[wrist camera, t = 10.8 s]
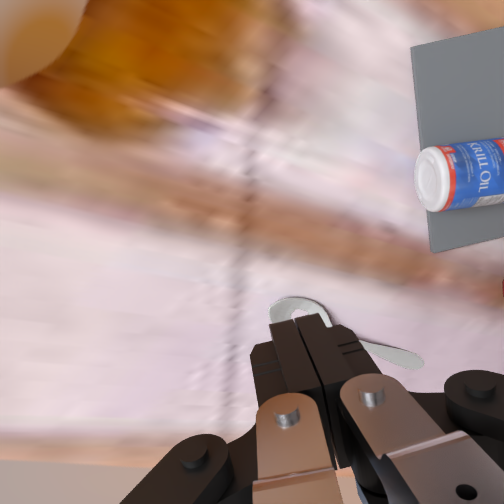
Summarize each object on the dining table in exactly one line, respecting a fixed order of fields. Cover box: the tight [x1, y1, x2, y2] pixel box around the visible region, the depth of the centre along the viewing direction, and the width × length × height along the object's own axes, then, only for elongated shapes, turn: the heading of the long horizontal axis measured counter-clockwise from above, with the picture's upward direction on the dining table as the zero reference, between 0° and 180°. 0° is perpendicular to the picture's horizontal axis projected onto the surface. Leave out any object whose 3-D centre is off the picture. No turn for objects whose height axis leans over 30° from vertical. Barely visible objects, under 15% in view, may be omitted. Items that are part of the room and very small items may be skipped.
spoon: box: [268, 298, 424, 369], centre depth 44 cm, size 4×21×2 cm, turn 65°
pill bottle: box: [414, 137, 504, 212], centre depth 37 cm, size 6×5×10 cm
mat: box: [411, 26, 504, 253], centre depth 39 cm, size 18×11×1 cm, turn 12°
